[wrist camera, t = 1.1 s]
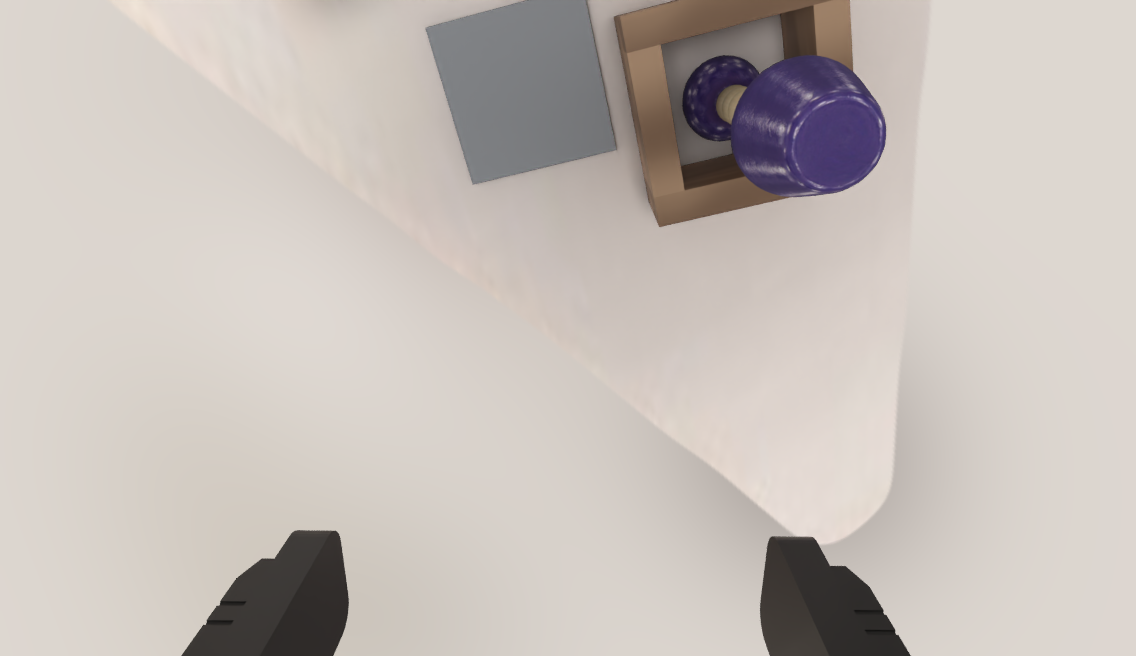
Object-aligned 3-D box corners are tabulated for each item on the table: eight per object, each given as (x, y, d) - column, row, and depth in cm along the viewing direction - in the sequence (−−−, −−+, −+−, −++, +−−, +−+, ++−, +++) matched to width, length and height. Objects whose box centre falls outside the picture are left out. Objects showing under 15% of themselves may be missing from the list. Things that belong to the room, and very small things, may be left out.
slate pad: (427, 27, 33) (425, 27, 32) (582, -15, 32) (582, -15, 31) (474, 181, 36) (472, 184, 36) (615, 147, 35) (616, 149, 35)
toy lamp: (658, 89, 34) (726, 145, 19) (730, 21, 33) (864, 23, 18) (715, 156, 35) (820, 259, 20) (786, 94, 34) (954, 155, 19)
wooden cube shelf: (613, 16, 33) (620, 16, 28) (808, -35, 31) (847, -44, 27) (648, 201, 37) (659, 227, 32) (822, 161, 35) (858, 181, 31)
